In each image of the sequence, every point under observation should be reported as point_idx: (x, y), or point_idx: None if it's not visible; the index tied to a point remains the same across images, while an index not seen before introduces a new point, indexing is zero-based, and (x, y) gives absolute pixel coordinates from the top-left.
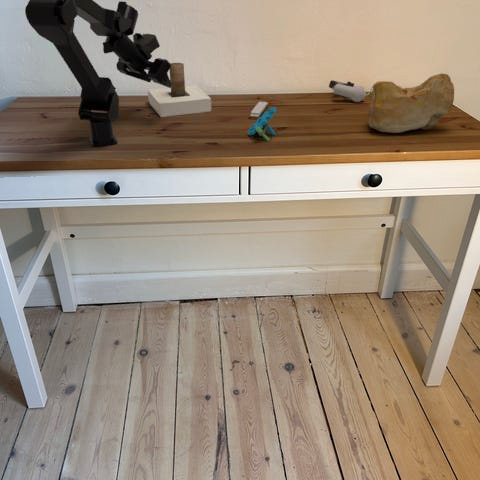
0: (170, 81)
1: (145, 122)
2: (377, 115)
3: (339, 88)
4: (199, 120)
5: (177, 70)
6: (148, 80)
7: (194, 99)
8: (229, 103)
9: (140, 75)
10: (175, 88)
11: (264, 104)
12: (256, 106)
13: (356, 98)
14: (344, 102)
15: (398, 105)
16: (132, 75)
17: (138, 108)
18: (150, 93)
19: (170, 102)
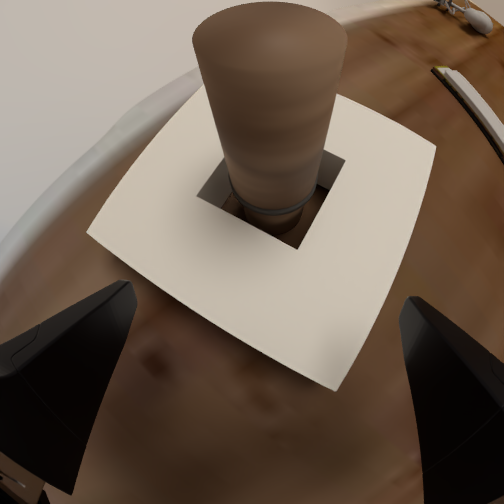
0: (448, 319)
1: (313, 463)
2: None
3: (482, 20)
4: (462, 287)
5: (332, 88)
6: (127, 318)
7: (411, 198)
8: (377, 86)
9: (82, 399)
10: (296, 190)
11: (472, 87)
12: (480, 107)
13: (487, 32)
14: (476, 35)
15: None
16: (72, 474)
17: (136, 344)
18: (129, 265)
19: (366, 328)
